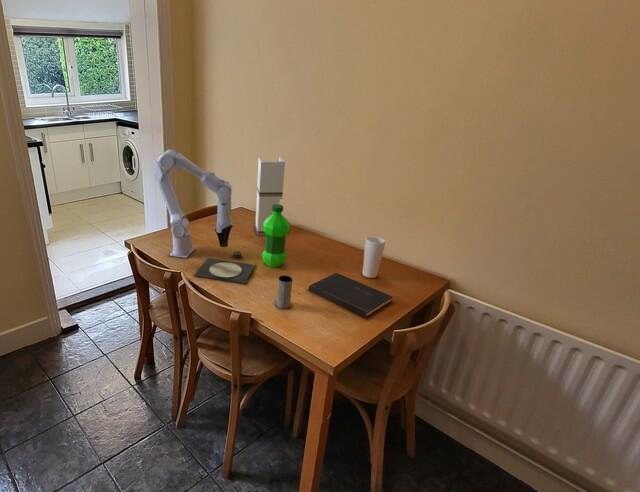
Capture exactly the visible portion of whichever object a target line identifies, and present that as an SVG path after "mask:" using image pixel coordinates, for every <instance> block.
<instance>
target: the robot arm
mask: <svg viewBox="0 0 640 492" xmlns="http://www.w3.org/2000/svg"><path fill="white" fill-rule="evenodd" d="M173 168H174V170H180V169H181V170H182V169H183V170H185V171H186V172H188V173H189V174H191V175H193V176H194V177H196V178H198V179H199V180H200V184H201V185H203V186H204V187H206V188H207V189H209V190H210V191H212V192H213V193H216V197H217V203H216V204H217V205H216V207H217V208H216V210H217V211H216V227H215V229H214V232H215V234H216V236H217V239H218V243H219V245H220V244H221V245H225V242H226V240H227V241H228V242H229V238H230V233H231V230H232V228H233V226H234V225H235V223H234V222H233V221H232V195H233V194H232V192H233V186H232V184H231V183H230V182H229V181H227V180H225V179H221V178H220V177H219V176H217V175H216V173H215V172H214V171H212V172H211V171H204V170H203V169H201V168H200V167H199V166H197V165H196V164H195V163H194V162H192V161H191V160H190V159H188V158H187V157H186V156H184V155H183V154H182V153H180V152H178V151H176V150H175V149H174V148H169V149H166V150H165V151H164V152H163V153H162V154H161V155H159V157H158V159H157V161H156V167H155V172H154V178H155V181H156V182H157V187H158V188H159V191H160V193H161V196H162V199H163V201H164V204H165V206H166V209H167V212H168V213H169V214H168V215H169V221H170V225H171V229H170V231H171V235H172V252H170V254H169V257H176V258H182V259H183V258H184V259H187V258H188V257H189V256H190V255H191V254H192V253H193V252H194V251H195V248H193V235H192V233H191V232H190V231H189V228H190V220H189V219H188V218H187V217H186V216H185V213H184V212H183V210H182V209H181V206H180V203H179V201H178V198H177V195H176V192H175V190H174V187H173V185H172V182H171V179H170V176H169V175H170V173H171V171H172V169H173Z"/></svg>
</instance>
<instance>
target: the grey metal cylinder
mask: <svg viewBox="0 0 640 492" xmlns="http://www.w3.org/2000/svg"><path fill="white" fill-rule="evenodd" d="M292 287H293V278H292V276H290V275H279V276H278V280H277V291H276V292H277V294H276V306H277V307H278V308H280V309H289V308H290V307H291V301H292Z"/></svg>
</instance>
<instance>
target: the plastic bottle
mask: <svg viewBox="0 0 640 492" xmlns="http://www.w3.org/2000/svg"><path fill="white" fill-rule="evenodd" d="M272 211H273V214H272V215H271V216H269V217H268V218H267V219H266V220H265V221H264V223H263V231H264V232H265V233H266V235H264V236H265V239H264V250H263V251H262V253H261V258H262V260H263V262H264V264H266V265H267V266H268V267H270V268H279V267H280V266H281V265H283V264H284V263H285V261H286V260H287V256H288V255H287V252H286V250H285V249H286V238H287V234H288V233H289V232H290V228H291V224H290V221H288V219H287V218H286V217H285V216H283V214H282V212H284V206H283V204H279V205H278V204H275V205H273V206H272Z"/></svg>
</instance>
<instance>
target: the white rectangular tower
mask: <svg viewBox="0 0 640 492" xmlns="http://www.w3.org/2000/svg"><path fill="white" fill-rule="evenodd" d="M285 166H286V161H285V159H283V157H282V156H279V157H278V161H268V160H267V161H266V160H263V159H262V158H261V156H258V160H257V179H256V180H257V182H256V202H255V226H254V227H255V232H256V235H257V236H266V233H265V232H264V231H263V223H264V221H265V220H266V219H267V218H268V217H269V216H271V215H272V214H273V211H272V206H273V205H275V204H278V205H280V202H281V200H283V194H284V180H285Z"/></svg>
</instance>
